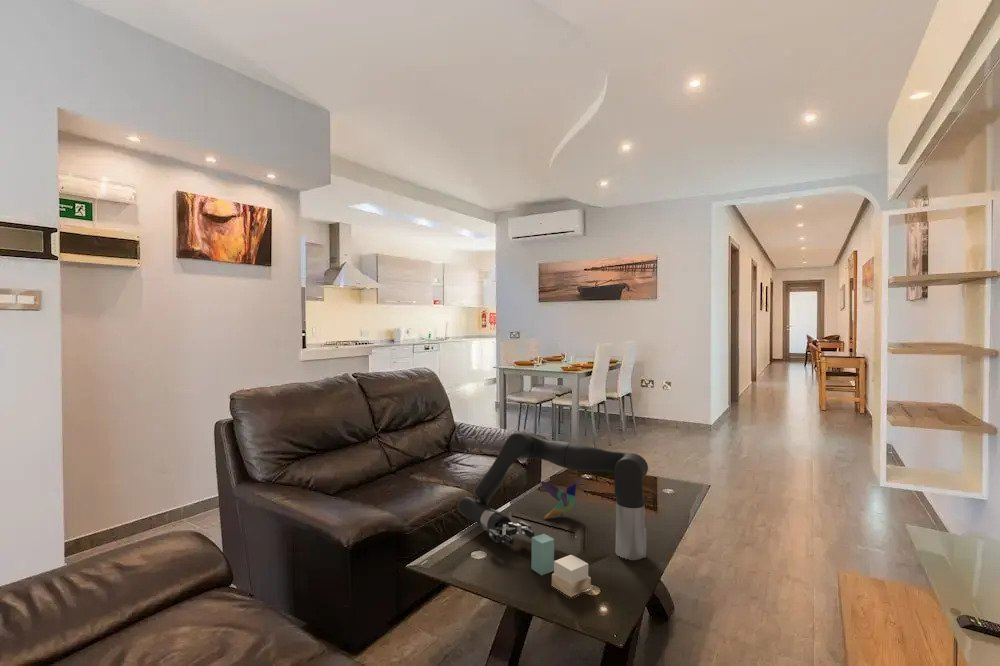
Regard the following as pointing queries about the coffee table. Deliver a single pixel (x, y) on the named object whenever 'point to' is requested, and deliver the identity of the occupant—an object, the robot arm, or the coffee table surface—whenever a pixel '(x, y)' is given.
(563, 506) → the decorative sculpture
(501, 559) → the coffee table surface
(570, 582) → the tower top block
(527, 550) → the coffee table surface
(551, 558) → the teal block
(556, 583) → the tower base block
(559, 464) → the robot arm
